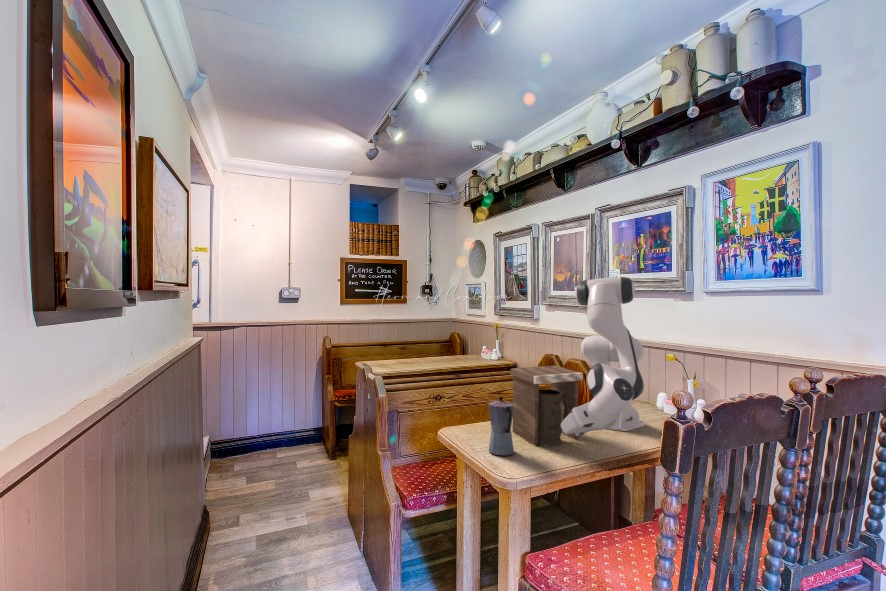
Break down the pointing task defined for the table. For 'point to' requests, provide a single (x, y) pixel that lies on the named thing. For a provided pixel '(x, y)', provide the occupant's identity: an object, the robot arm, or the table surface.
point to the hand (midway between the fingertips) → (578, 433)
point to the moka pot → (501, 427)
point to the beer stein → (551, 416)
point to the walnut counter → (528, 396)
